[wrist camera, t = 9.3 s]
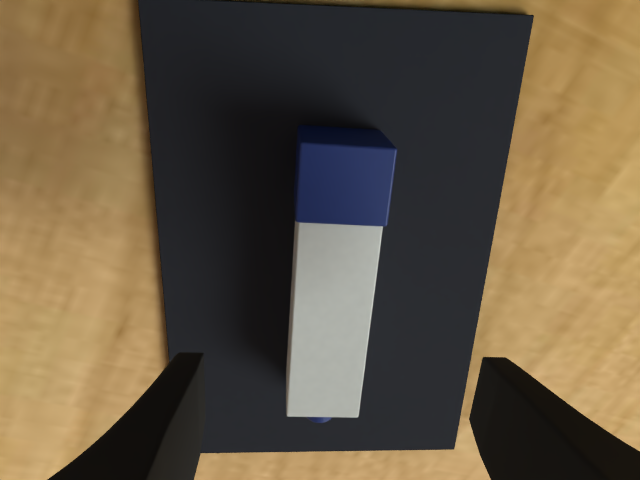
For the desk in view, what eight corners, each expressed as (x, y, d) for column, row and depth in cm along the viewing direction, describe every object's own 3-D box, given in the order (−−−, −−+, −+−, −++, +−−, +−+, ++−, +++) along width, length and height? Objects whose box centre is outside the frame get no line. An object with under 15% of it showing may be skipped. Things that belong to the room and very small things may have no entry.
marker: (350, 391, 23) (359, 442, 20) (282, 390, 23) (282, 441, 20) (381, 129, 18) (398, 148, 16) (297, 124, 18) (299, 142, 15)
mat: (178, 448, 24) (177, 453, 24) (140, -3, 17) (137, -4, 16) (452, 444, 25) (454, 449, 25) (530, 15, 18) (534, 15, 17)
